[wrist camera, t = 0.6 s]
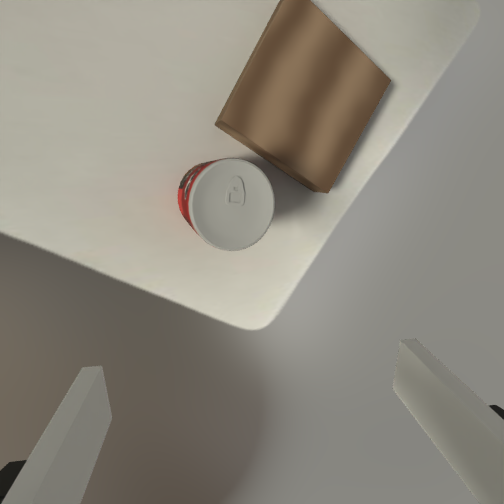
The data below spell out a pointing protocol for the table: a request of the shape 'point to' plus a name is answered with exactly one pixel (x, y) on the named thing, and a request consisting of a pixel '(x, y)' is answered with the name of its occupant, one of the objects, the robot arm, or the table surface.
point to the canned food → (227, 203)
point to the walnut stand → (303, 95)
